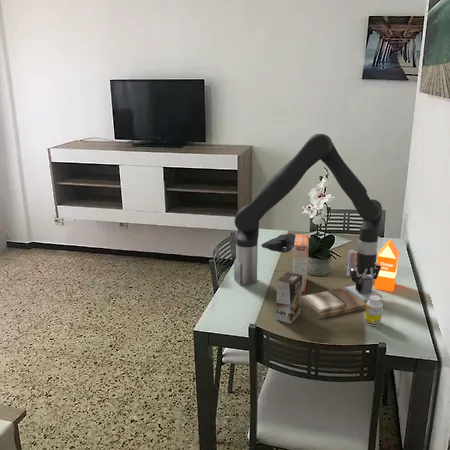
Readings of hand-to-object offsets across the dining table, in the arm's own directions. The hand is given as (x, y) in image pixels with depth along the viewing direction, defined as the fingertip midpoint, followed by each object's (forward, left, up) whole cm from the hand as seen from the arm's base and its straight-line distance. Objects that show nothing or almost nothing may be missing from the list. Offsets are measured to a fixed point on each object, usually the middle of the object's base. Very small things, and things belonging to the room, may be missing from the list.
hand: (363, 289), depth 191 cm
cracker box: (-18, +20, -3) cm, 27 cm away
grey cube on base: (0, 0, -2) cm, 2 cm away
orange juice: (+15, +5, -3) cm, 17 cm away
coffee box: (-36, -2, -3) cm, 36 cm away
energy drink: (+9, +19, -3) cm, 21 cm away
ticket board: (-15, 0, -3) cm, 15 cm away
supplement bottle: (-10, -18, -3) cm, 21 cm away
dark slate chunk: (0, +67, -4) cm, 67 cm away
